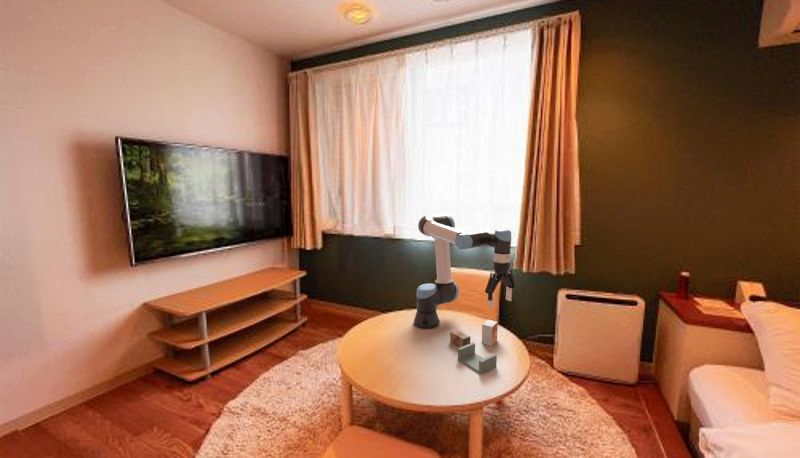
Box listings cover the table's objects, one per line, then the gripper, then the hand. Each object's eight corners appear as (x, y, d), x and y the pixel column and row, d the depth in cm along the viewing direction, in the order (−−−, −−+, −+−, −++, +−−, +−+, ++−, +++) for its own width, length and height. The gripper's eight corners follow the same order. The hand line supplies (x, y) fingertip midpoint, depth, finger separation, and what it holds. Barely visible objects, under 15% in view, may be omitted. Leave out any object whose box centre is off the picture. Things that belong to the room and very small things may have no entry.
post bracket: (457, 360, 156) (458, 348, 155) (472, 353, 162) (472, 342, 161) (481, 374, 144) (481, 362, 143) (496, 367, 150) (496, 355, 149)
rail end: (450, 342, 173) (450, 331, 172) (456, 340, 176) (456, 329, 175) (463, 350, 165) (463, 339, 164) (470, 347, 167) (470, 336, 167)
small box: (491, 346, 169) (492, 327, 167) (481, 343, 172) (481, 324, 170) (497, 340, 175) (498, 321, 173) (487, 337, 178) (488, 319, 177)
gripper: (491, 267, 148) (489, 311, 151) (524, 259, 162) (521, 300, 165) (478, 263, 154) (476, 306, 157) (511, 256, 168) (509, 295, 171)
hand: (499, 303), depth 161 cm, fingers open, 13 cm apart
